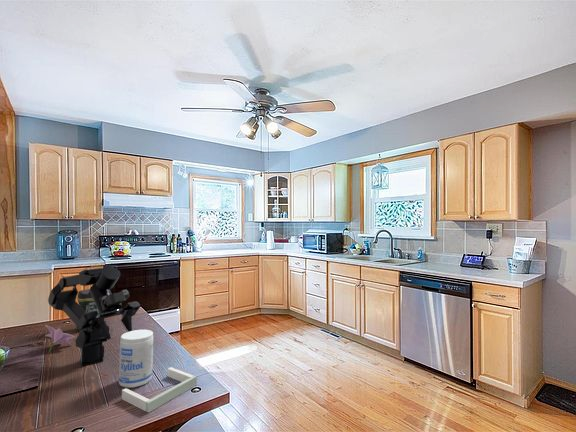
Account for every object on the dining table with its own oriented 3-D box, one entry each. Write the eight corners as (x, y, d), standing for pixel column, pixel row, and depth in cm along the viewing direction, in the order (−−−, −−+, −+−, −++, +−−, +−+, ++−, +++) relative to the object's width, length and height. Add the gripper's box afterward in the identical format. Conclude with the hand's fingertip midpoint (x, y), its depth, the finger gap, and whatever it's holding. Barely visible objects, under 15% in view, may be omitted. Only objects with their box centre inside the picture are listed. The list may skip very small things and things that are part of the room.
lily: (75, 353, 121) (83, 327, 126) (41, 349, 113) (51, 322, 118) (62, 356, 127) (70, 331, 132) (28, 353, 119) (39, 327, 124)
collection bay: (121, 399, 87) (121, 390, 87) (170, 374, 101) (170, 367, 101) (148, 412, 81) (148, 403, 81) (196, 384, 95) (196, 376, 95)
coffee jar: (79, 333, 140) (79, 292, 140) (74, 328, 145) (75, 289, 146) (102, 327, 147) (103, 288, 148) (97, 324, 152) (98, 286, 153)
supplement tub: (116, 391, 91) (117, 341, 91) (120, 377, 100) (121, 331, 100) (152, 385, 95) (153, 337, 95) (153, 371, 103) (153, 327, 104)
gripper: (83, 288, 97) (101, 329, 91) (137, 279, 113) (156, 313, 107) (70, 309, 101) (87, 350, 95) (125, 297, 117) (142, 332, 111)
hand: (120, 335), depth 102 cm, fingers open, 7 cm apart
